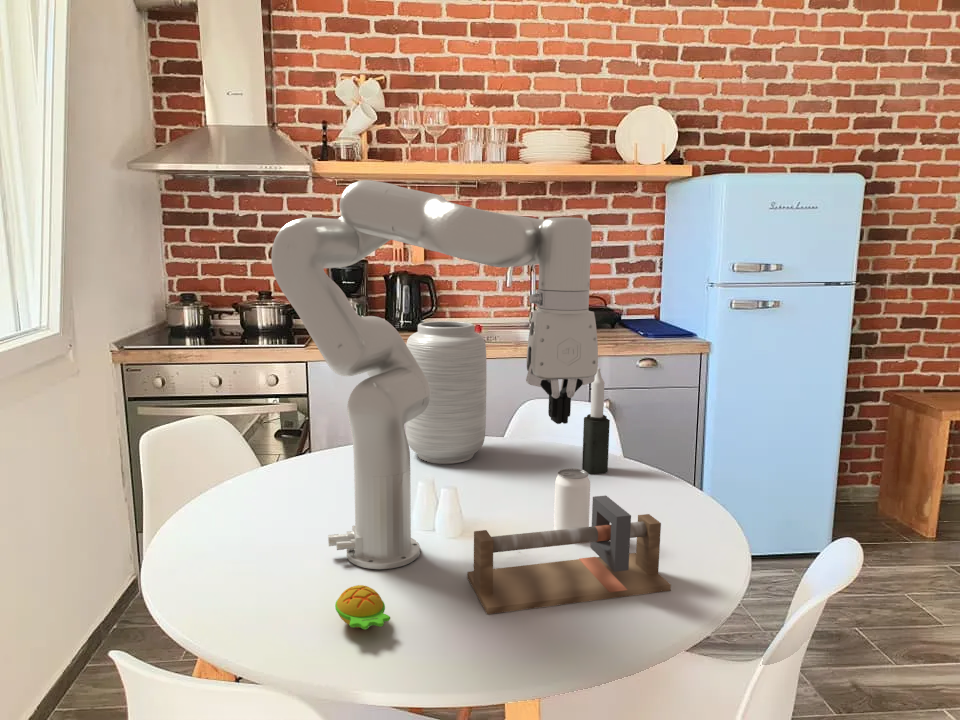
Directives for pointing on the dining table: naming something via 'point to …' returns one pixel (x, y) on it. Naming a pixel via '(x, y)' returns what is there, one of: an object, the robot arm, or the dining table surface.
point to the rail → (564, 569)
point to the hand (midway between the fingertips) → (559, 421)
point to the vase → (449, 392)
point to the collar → (612, 533)
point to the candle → (596, 432)
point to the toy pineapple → (361, 607)
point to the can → (571, 499)
